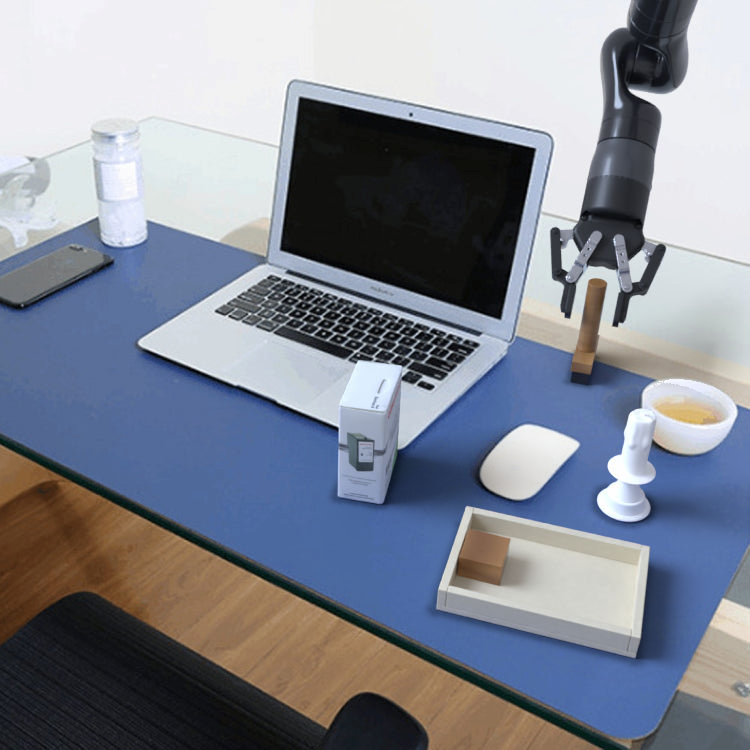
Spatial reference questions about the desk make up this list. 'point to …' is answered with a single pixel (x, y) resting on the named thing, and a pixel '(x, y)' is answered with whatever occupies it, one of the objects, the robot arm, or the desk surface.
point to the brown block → (483, 557)
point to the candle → (631, 471)
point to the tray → (554, 583)
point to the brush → (588, 331)
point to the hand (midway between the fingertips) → (591, 320)
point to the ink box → (369, 431)
